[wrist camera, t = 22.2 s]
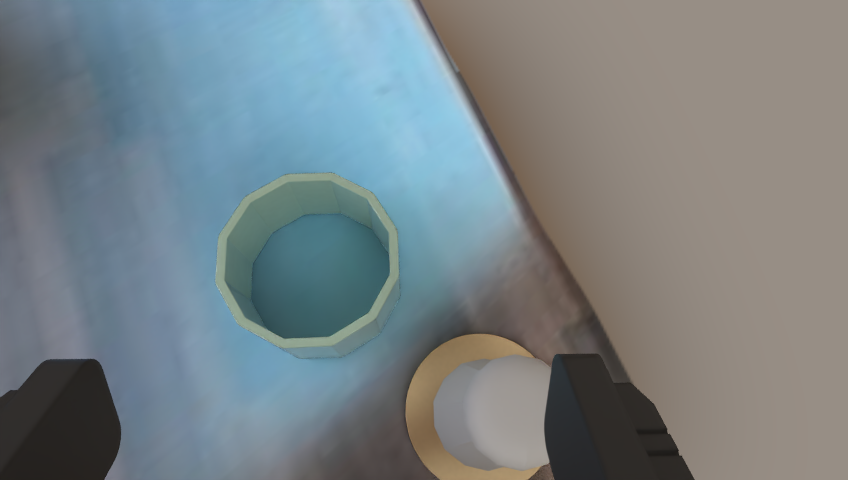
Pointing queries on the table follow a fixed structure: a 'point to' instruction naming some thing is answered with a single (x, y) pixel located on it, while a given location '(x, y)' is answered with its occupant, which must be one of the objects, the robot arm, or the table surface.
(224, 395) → the table surface
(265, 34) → the table surface
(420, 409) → the coaster
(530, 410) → the salt shaker
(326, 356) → the cup
